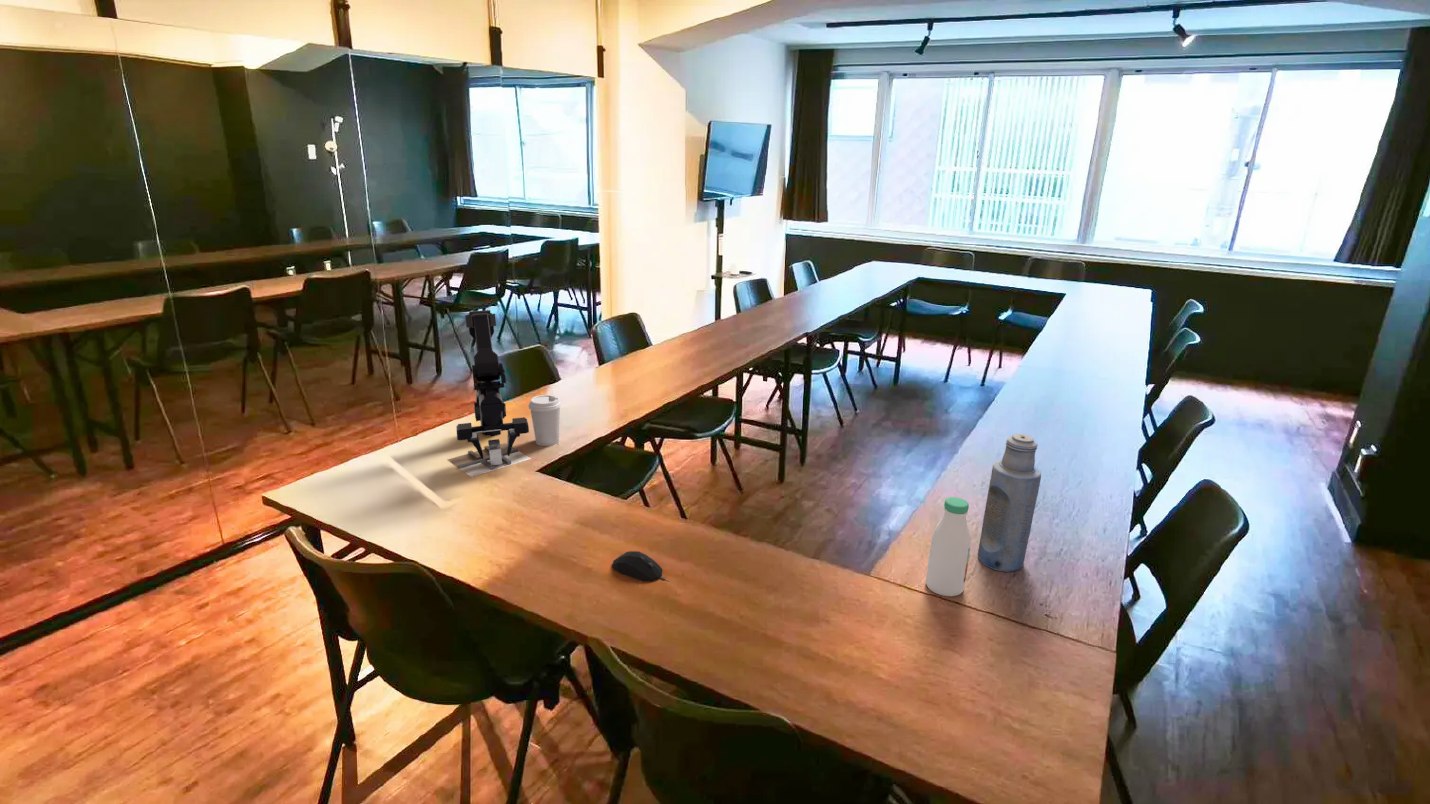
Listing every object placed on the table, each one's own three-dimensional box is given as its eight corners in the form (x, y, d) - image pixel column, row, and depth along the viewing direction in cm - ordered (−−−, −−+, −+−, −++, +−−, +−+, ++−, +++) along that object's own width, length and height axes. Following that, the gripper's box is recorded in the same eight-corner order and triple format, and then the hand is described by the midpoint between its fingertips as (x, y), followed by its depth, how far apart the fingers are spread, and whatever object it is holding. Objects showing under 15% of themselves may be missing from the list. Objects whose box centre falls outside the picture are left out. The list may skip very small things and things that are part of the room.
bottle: (967, 554, 161) (987, 431, 151) (1001, 545, 165) (1022, 425, 155) (999, 576, 153) (1021, 448, 143) (1033, 567, 157) (1057, 441, 147)
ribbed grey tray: (447, 464, 201) (446, 456, 201) (506, 447, 213) (505, 439, 212) (472, 482, 191) (471, 473, 190) (531, 463, 203) (531, 455, 202)
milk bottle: (958, 602, 144) (972, 514, 138) (920, 589, 148) (932, 504, 141) (967, 583, 150) (981, 499, 144) (931, 572, 154) (942, 489, 147)
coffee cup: (556, 453, 210) (553, 405, 205) (525, 450, 211) (522, 403, 206) (568, 441, 219) (566, 395, 213) (539, 438, 220) (536, 392, 215)
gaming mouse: (662, 591, 147) (662, 575, 145) (606, 569, 154) (606, 553, 153) (679, 577, 152) (679, 560, 150) (624, 556, 159) (624, 540, 158)
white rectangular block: (502, 463, 197) (500, 446, 195) (490, 465, 196) (489, 448, 194) (500, 455, 202) (499, 438, 200) (489, 456, 201) (488, 440, 199)
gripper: (523, 391, 203) (527, 442, 208) (453, 398, 197) (459, 449, 203) (527, 404, 193) (531, 457, 199) (454, 411, 187) (460, 465, 193)
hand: (495, 457), depth 198 cm, fingers open, 7 cm apart
